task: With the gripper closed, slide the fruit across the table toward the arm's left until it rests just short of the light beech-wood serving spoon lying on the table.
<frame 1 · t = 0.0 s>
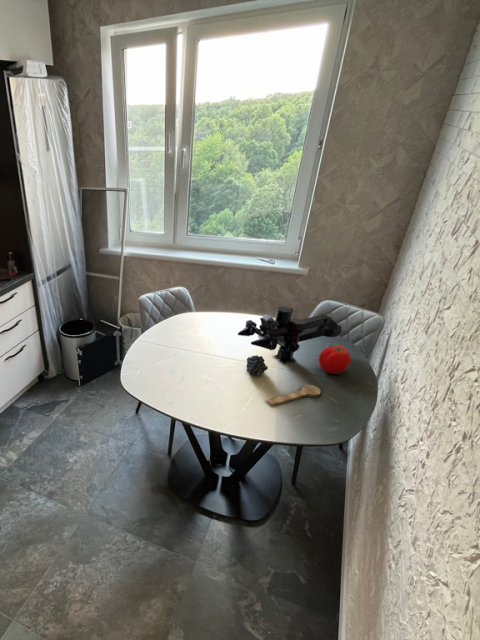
hand: (244, 338, 173), 17 cm above the table, tool horizontal, fingers open, 9 cm apart
tomato: (331, 370, 179), on the table
fruit: (254, 370, 182), on the table
spoon: (291, 397, 164), on the table
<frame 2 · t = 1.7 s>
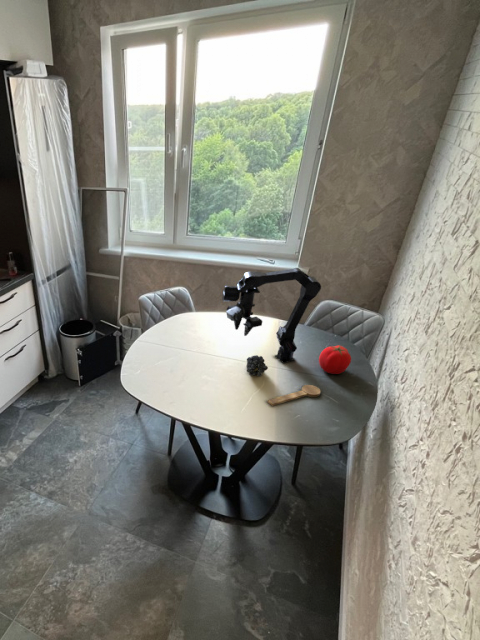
hand: (240, 332, 185), 13 cm above the table, tool pointing down, fingers open, 6 cm apart
nothing on the table moved.
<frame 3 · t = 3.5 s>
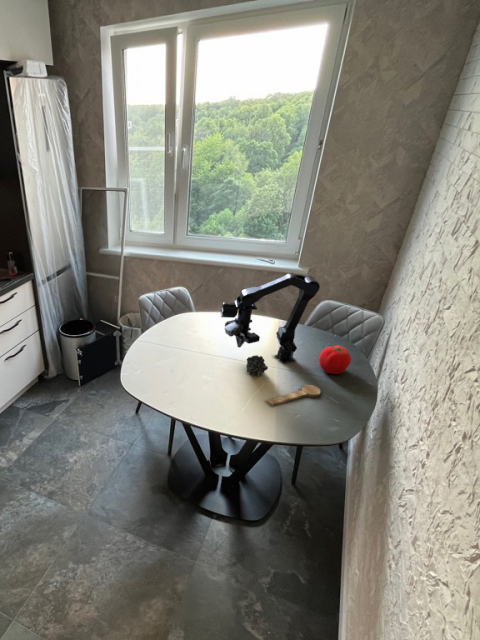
hand: (239, 347, 189), 5 cm above the table, tool pointing down, fingers closed
nothing on the table moved.
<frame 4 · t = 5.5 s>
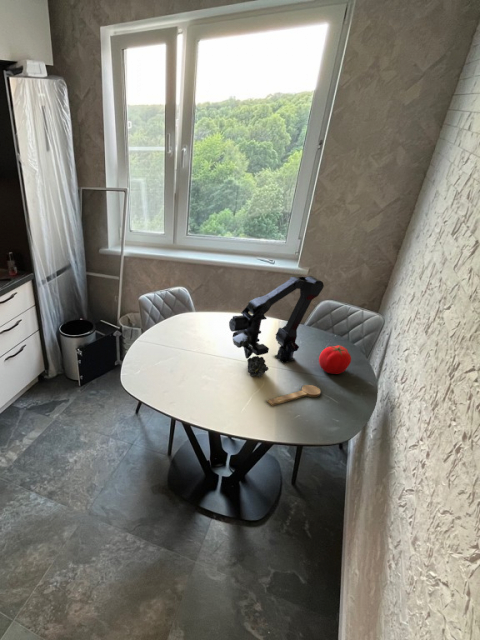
hand: (247, 358, 185), 3 cm above the table, tool pointing down, fingers closed
fruit: (255, 371, 181), on the table, touching gripper
everything else where it was.
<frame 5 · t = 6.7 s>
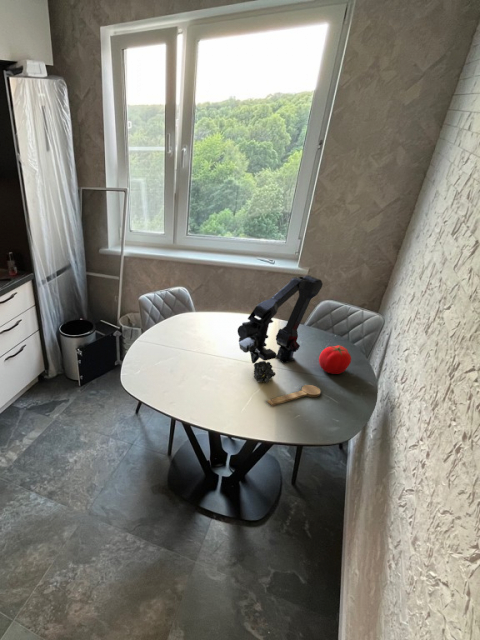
hand: (253, 363, 181), 3 cm above the table, tool pointing down, fingers closed
fruit: (262, 376, 177), on the table, touching gripper
everything else where it was.
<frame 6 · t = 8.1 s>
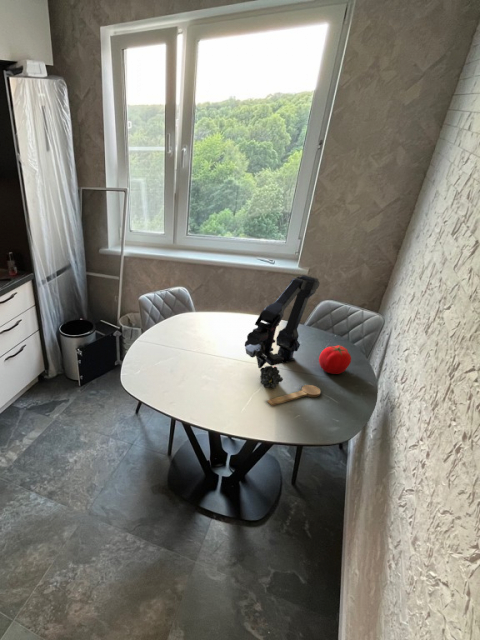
hand: (259, 367, 178), 3 cm above the table, tool pointing down, fingers closed
fruit: (268, 382, 174), on the table, touching gripper
everything else where it was.
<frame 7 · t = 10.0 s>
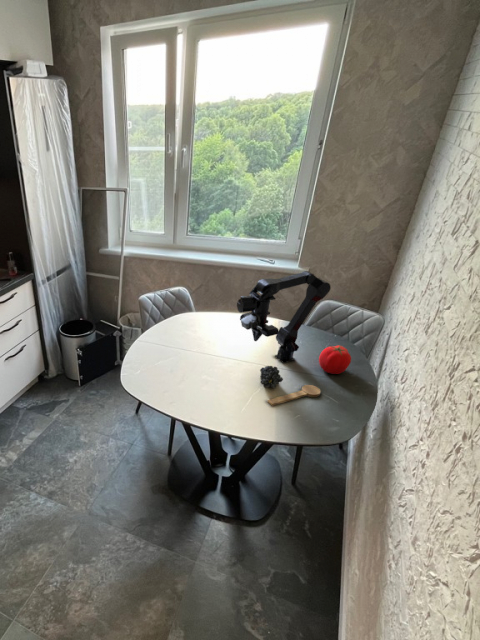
hand: (255, 340, 180), 12 cm above the table, tool pointing down, fingers closed
fruit: (268, 382, 174), on the table
everything else where it was.
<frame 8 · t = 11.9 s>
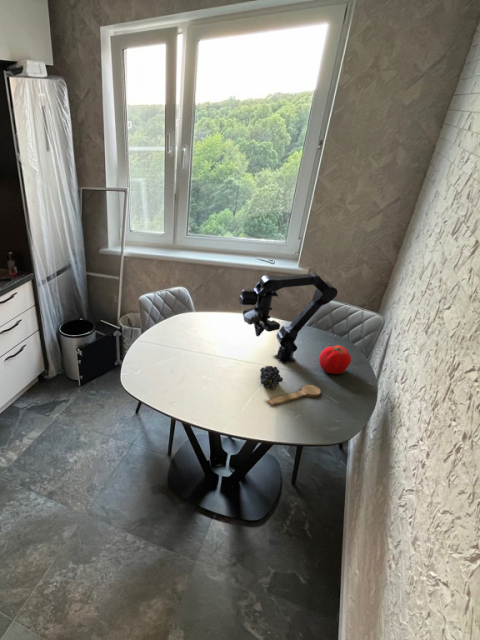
hand: (257, 336, 183), 12 cm above the table, tool pointing down, fingers closed
nothing on the table moved.
at the end: fruit inside the target area (2.7 cm from its centre), on the table; fruit 12.9 cm from the spoon (horizontally) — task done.
